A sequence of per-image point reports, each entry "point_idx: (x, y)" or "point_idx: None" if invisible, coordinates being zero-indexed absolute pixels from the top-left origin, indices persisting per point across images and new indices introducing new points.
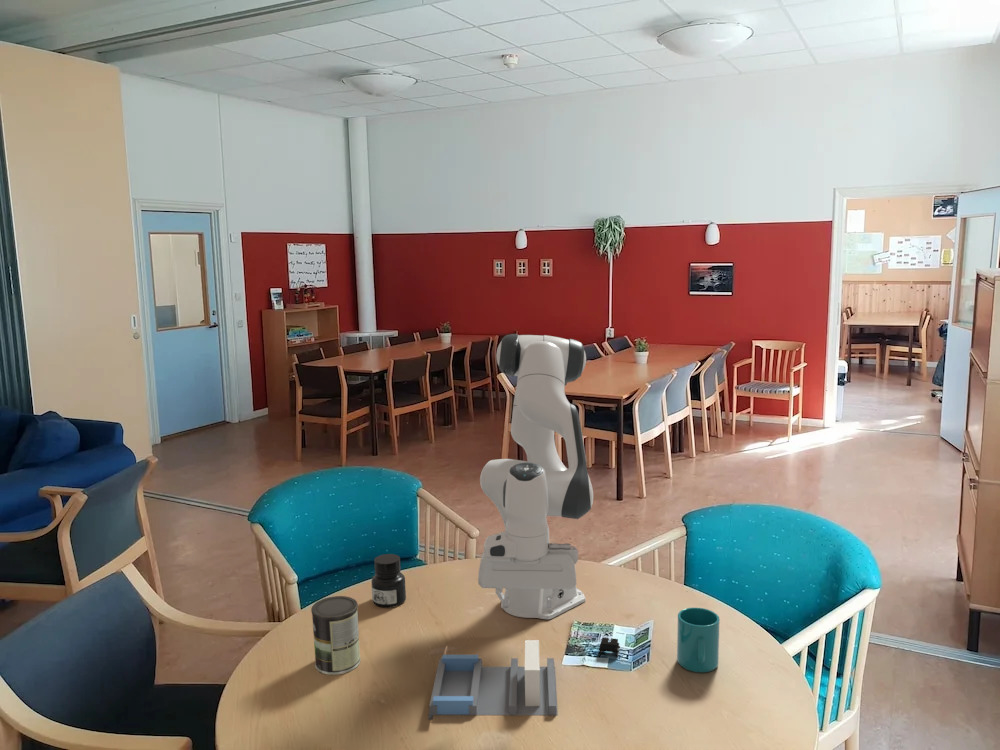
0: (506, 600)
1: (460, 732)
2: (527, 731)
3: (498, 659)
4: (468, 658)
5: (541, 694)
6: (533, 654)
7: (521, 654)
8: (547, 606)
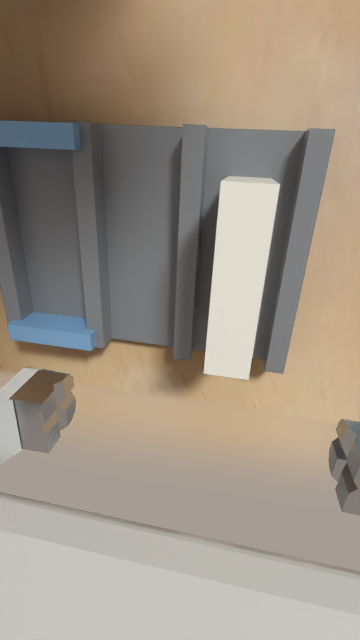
0: (39, 449)
1: (91, 364)
2: (214, 379)
3: (150, 46)
4: (46, 147)
5: None
6: (241, 291)
7: (230, 3)
8: (335, 471)
